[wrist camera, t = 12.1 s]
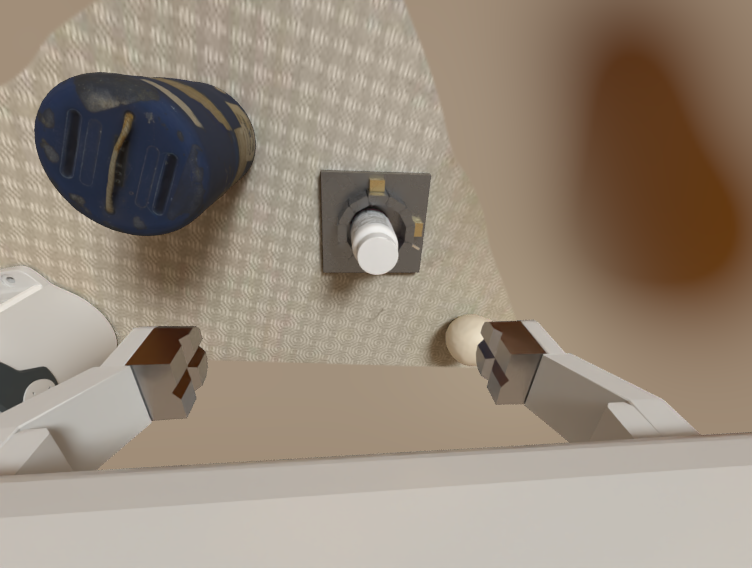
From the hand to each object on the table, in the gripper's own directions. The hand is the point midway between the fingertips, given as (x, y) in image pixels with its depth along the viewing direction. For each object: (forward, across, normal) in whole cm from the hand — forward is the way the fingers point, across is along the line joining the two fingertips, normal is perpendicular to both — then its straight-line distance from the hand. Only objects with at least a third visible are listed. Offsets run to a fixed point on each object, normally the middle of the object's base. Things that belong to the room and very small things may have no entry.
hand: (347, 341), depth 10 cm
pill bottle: (+30, -4, +7) cm, 31 cm away
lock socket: (+31, -4, +7) cm, 32 cm away
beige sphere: (+31, -18, +22) cm, 42 cm away
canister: (+31, +13, -2) cm, 34 cm away
